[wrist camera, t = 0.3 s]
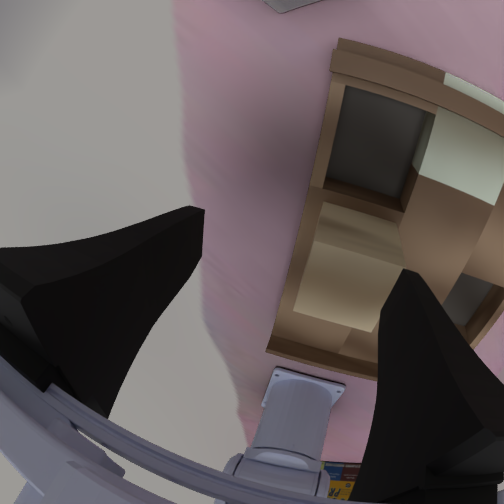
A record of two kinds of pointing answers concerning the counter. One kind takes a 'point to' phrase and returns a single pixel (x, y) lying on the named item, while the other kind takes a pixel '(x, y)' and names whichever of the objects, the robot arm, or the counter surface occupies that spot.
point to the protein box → (341, 478)
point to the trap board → (404, 196)
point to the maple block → (350, 268)
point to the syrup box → (287, 4)
